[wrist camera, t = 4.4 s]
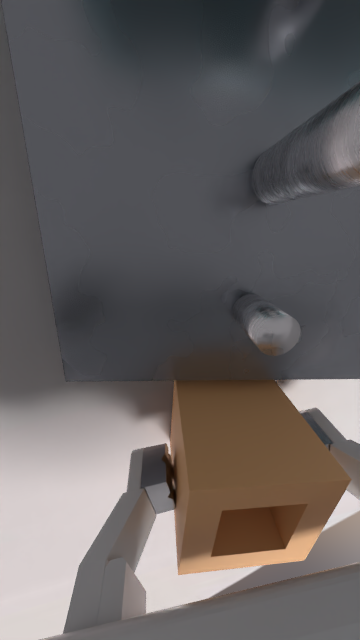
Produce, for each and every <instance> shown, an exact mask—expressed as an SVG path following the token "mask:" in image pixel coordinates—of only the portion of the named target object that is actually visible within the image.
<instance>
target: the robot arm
mask: <svg viewBox="0 0 360 640" xmlns="http://www.w3.org/2000/svg"><path fill="white" fill-rule="evenodd" d="M299 413H300V414H301V415H302V416H303V418H304V419H305V420H306V422H307V423H308V424H309V425H310V427H311V428H312V429H313V431H314V432H315V433H316V434H317V436H318V437H319V438H320V440H321V441H322V442H323V443H324V445H325V446H326V447H327V448H328V450H329V451H330V452H331V454H332V455H333V456H334V457H335V459H336V460H337V461H338V463H339V464H340V465H341V466H342V468H343V469H344V470H345V472H346V473H347V474H348V475H349V477H350V478H351V479H352V480H351V482H350V483H349V485H348V487H347V489H346V490H347V491H348V492H350V493H351V494H352V495H354V496H355V497H356V498H358V499H359V500H360V444H358V443H356V442H354V441H352V440H346V439H345V437H344V436H343V435H342V434H341V433H340V432H339V431H338V430H337V429H336V428H335V427H334V426H333V424H332V423H331V422H330V421H329V420H328V419H327V418H326V417H325V416H324V415H323V414H322V412H321V411H320V410H319V409H317V408H312V409H308V410H305V411H304V410H303V411H299ZM173 480H174V471H173V463H172V458H171V455H170V454H168V447H167V444H166V443H165V444H160V445H156V446H151V447H146V448H141V449H137V450H133V451H132V454H131V460H130V469H129V477H128V485H127V492H126V493H123V494H122V496H121V498H120V499H119V501H118V503H117V504H116V506H115V508H114V509H113V511H112V512H111V514H110V516H109V517H108V519H107V521H106V522H105V524H104V526H103V527H102V529H101V531H100V532H99V534H98V536H97V537H96V539H95V540H94V542H93V544H92V545H91V547H90V549H89V550H88V552H87V554H86V555H85V557H84V559H83V560H82V562H81V563H80V565H79V568H78V573H77V577H76V581H75V585H74V589H73V594H72V598H71V602H70V606H69V611H68V615H67V619H66V623H65V627H64V632H63V634H61V635H57V636H52V637H48V638H44V639H40V640H360V562H357V563H353V564H349V565H345V566H341V567H337V568H333V569H328V570H324V571H321V572H316V573H312V574H308V575H304V576H300V577H295V578H291V579H287V580H283V581H279V582H275V583H271V584H267V585H263V586H258V587H254V588H250V589H246V590H242V591H238V592H234V593H230V594H226V595H221V596H218V597H213V598H209V599H205V600H201V601H197V602H193V603H188V604H184V605H180V606H176V607H172V608H168V609H164V610H160V611H155V612H151V613H147V614H146V591H145V589H144V588H143V586H142V584H141V583H140V581H139V580H138V578H137V577H136V575H135V574H134V572H135V570H136V567H137V564H138V562H139V559H140V557H141V554H142V552H143V549H144V546H145V544H146V541H147V539H148V536H149V534H150V531H151V528H152V526H153V523H154V521H155V518H156V514H159V513H163V512H166V511H170V510H174V509H176V500H175V488H174V485H173V483H172V482H173Z"/></svg>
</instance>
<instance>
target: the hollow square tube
mask: <svg viewBox="0 0 360 640" xmlns="http://www.w3.org/2000/svg"><path fill="white" fill-rule="evenodd" d="M170 447H171V458H172V463H173V471H174V480H173V485H174V488H175V500H176V509H174V513H175V530H176V546H177V563H178V575H182V574H191V573H200V572H208V571H217V570H225V569H234V568H243V567H251V566H260V565H268V564H277V563H286V562H294V561H303V560H305V558H306V557H307V555H308V553H309V552H310V550H311V548H312V546H313V545H314V543H315V541H316V540H317V538H318V536H319V534H320V533H321V531H322V529H323V528H324V526H325V524H326V523H327V521H328V519H329V518H330V516H331V514H332V512H333V511H334V509H335V507H336V506H337V504H338V502H339V501H340V499H341V497H342V495H343V494H344V492H345V490H346V489H347V487H348V485H349V483H350V482H351V480H352V479H351V478H350V477H349V475H348V474H347V473H346V472H345V470H344V469H343V468H342V466H341V465H340V464H339V463H338V461H337V460H336V459H335V457H334V456H333V455H332V454H331V452H330V451H329V450H328V448H327V447H326V446H325V445H324V443H323V442H322V441H321V440H320V438H319V437H318V436H317V434H316V433H315V432H314V431H313V429H312V428H311V427H310V425H309V424H308V423H307V422H306V420H305V419H304V418H303V416H302V415H301V414H300V413H299V411H298V410H297V409H296V407H295V406H294V405H293V404H292V402H291V401H290V400H289V399H288V397H287V396H286V395H285V393H284V392H283V391H282V390H281V388H280V387H279V386H278V384H277V383H276V382H275V381H274V380H174V391H173V405H172V420H171V435H170Z"/></svg>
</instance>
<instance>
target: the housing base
mask: <svg viewBox="0 0 360 640" xmlns="http://www.w3.org/2000/svg"><path fill="white" fill-rule="evenodd" d="M1 2H2V8H3V14H4V20H5V25H6V31H7V37H8V43H9V49H10V55H11V61H12V67H13V73H14V79H15V84H16V90H17V96H18V102H19V108H20V114H21V120H22V126H23V132H24V138H25V143H26V149H27V155H28V161H29V167H30V173H31V179H32V185H33V191H34V197H35V202H36V208H37V214H38V220H39V226H40V232H41V238H42V244H43V250H44V256H45V261H46V267H47V273H48V279H49V285H50V291H51V297H52V303H53V309H54V315H55V321H56V326H57V332H58V338H59V344H60V350H61V356H62V362H63V368H64V374H65V380H66V381H168V380H282V379H360V0H1Z"/></svg>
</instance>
